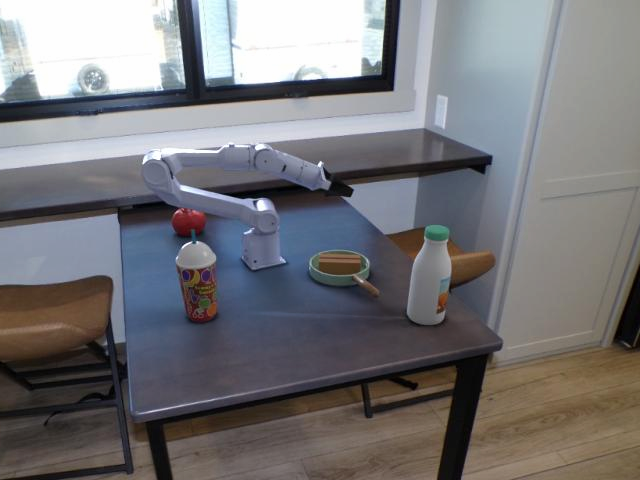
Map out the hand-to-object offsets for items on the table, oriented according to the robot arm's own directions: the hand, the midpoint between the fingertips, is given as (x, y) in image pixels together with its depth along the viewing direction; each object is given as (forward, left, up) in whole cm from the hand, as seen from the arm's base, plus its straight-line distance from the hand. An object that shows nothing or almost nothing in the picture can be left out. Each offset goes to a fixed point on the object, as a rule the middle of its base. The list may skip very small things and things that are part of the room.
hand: (347, 189), depth 130 cm
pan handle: (-7, -21, -16) cm, 27 cm away
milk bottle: (0, -35, -18) cm, 39 cm away
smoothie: (-43, -14, -18) cm, 49 cm away
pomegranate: (-33, +33, -18) cm, 50 cm away
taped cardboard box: (-7, -9, -17) cm, 21 cm away
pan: (-7, -9, -18) cm, 21 cm away
